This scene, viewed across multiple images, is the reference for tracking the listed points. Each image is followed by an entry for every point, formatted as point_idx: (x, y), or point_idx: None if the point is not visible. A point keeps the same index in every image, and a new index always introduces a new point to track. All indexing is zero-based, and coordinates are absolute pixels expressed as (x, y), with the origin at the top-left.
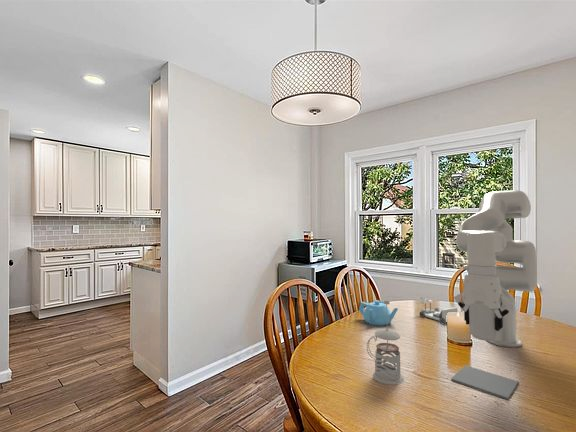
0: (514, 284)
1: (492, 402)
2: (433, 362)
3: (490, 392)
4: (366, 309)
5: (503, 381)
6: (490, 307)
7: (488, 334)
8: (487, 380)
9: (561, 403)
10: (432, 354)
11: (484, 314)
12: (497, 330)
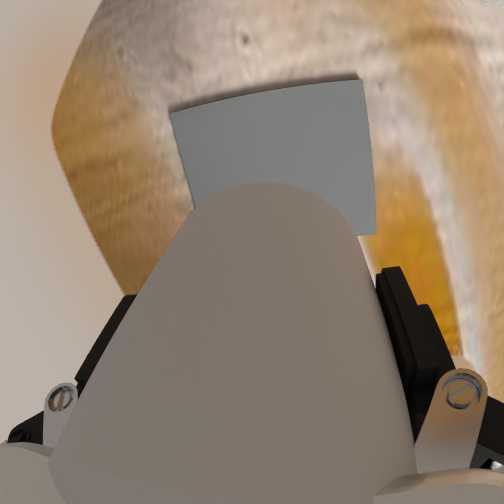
0: None
1: (191, 53)
2: (465, 176)
3: (221, 100)
4: None
5: None
6: (33, 467)
7: (179, 229)
8: (270, 176)
9: (103, 226)
10: (483, 237)
11: (113, 359)
12: (130, 296)
